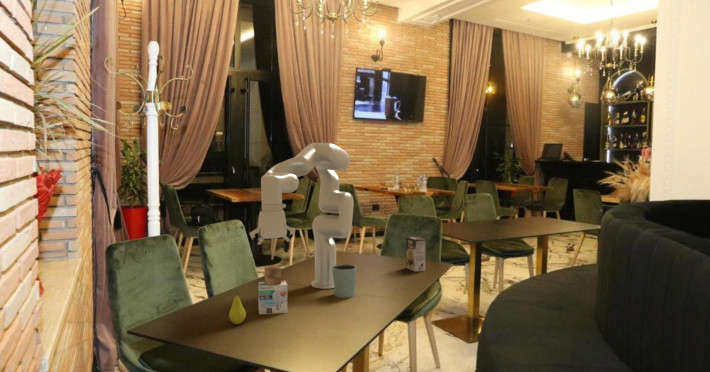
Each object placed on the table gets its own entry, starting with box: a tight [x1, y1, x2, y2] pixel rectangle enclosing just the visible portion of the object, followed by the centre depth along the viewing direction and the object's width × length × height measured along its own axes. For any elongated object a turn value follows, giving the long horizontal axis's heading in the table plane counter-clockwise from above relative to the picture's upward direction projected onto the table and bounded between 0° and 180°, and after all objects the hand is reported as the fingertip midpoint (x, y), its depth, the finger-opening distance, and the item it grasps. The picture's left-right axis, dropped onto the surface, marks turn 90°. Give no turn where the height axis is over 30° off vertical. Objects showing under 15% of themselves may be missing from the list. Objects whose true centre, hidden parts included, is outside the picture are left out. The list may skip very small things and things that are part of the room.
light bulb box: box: [257, 280, 288, 315], centre depth 194 cm, size 11×7×11 cm, turn 105°
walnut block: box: [264, 264, 282, 285], centre depth 193 cm, size 5×5×6 cm
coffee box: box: [405, 236, 427, 272], centre depth 261 cm, size 9×6×16 cm
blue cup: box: [332, 263, 357, 299], centre depth 215 cm, size 10×10×12 cm
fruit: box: [228, 291, 247, 325], centre depth 179 cm, size 6×6×12 cm
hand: (273, 253), depth 193 cm, fingers open, 9 cm apart
